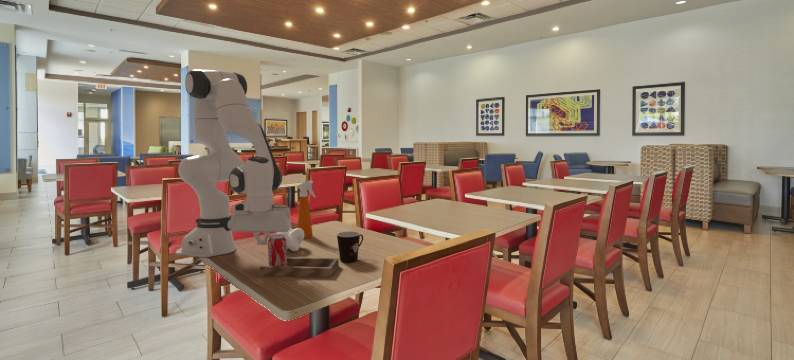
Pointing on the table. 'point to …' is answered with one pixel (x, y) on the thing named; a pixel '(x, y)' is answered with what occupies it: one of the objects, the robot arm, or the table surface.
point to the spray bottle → (305, 209)
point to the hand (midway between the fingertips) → (262, 244)
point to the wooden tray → (303, 267)
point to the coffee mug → (349, 246)
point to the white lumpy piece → (293, 238)
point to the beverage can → (277, 250)
